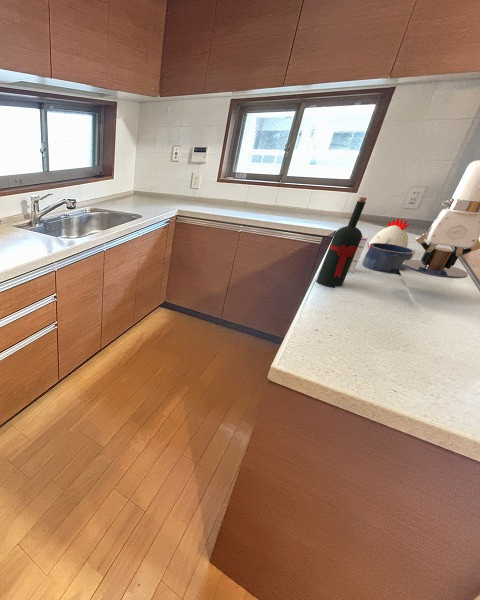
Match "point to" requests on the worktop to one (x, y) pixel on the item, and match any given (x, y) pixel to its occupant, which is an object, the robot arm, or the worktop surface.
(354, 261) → the syrup box
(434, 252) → the lid
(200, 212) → the worktop surface
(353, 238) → the wine bottle
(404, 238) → the chicken figurine
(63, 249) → the worktop surface
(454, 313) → the worktop surface
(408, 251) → the pot
